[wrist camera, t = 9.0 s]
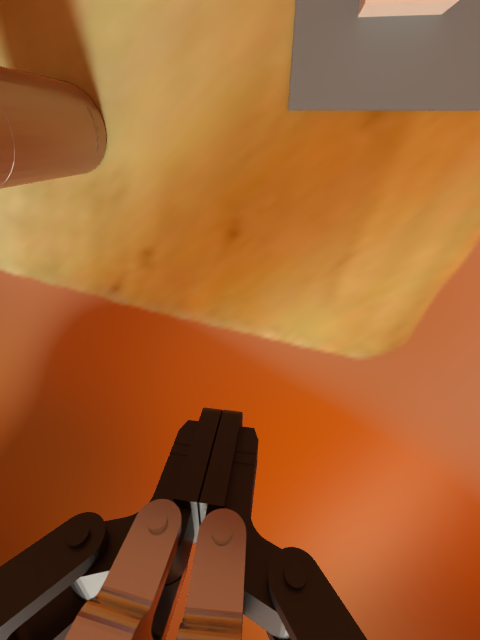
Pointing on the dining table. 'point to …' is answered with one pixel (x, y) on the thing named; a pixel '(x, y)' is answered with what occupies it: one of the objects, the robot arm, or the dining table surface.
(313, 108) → the mat
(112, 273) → the dining table surface
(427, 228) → the dining table surface
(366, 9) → the card box
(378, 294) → the dining table surface
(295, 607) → the robot arm
